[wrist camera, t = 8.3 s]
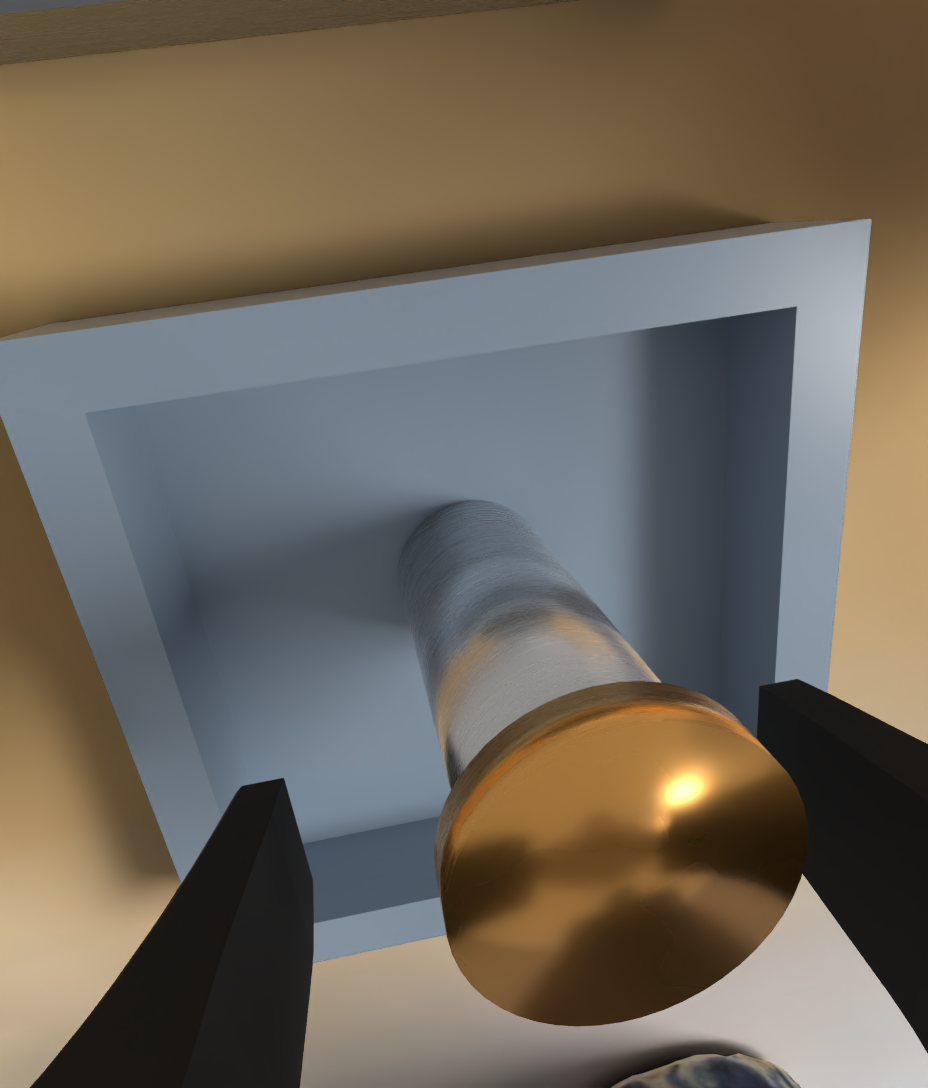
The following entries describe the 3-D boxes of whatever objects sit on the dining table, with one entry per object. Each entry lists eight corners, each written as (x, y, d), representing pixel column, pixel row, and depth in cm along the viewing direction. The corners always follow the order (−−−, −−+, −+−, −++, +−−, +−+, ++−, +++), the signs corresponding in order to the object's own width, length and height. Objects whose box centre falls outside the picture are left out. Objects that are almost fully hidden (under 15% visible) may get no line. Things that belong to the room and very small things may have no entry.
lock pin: (552, 465, 15) (815, 684, 7) (567, 632, 17) (801, 970, 9) (363, 501, 15) (414, 779, 7) (396, 669, 16) (472, 1064, 8)
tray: (773, 222, 14) (872, 218, 12) (749, 772, 20) (812, 856, 17) (51, 323, 13) (-28, 344, 11) (238, 875, 19) (219, 982, 16)
